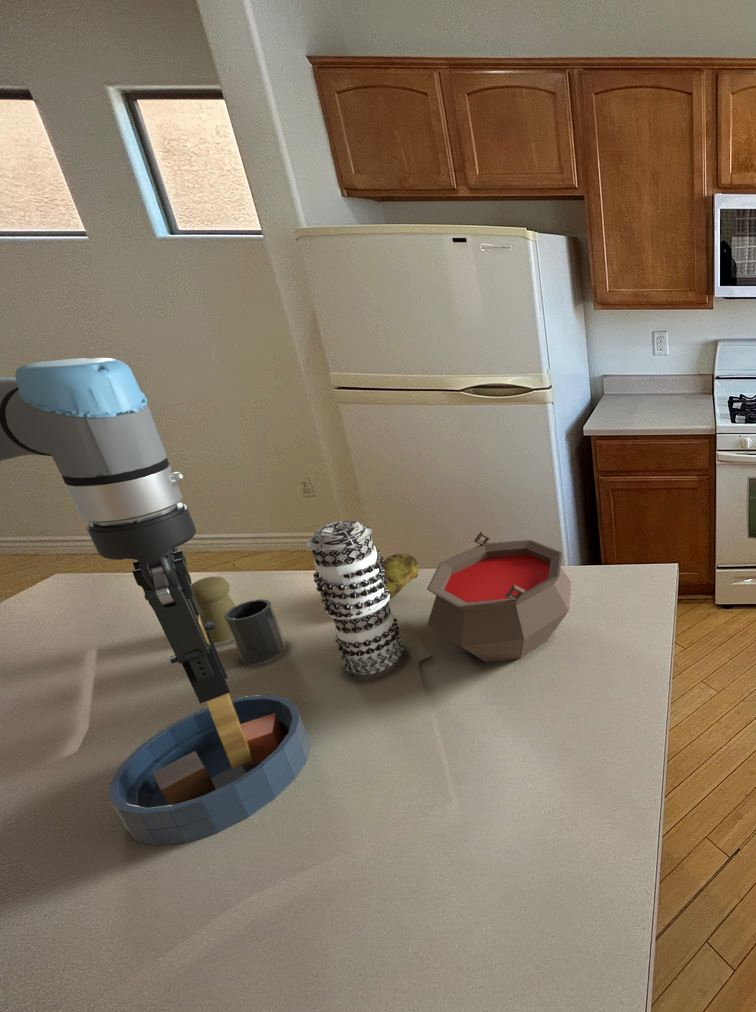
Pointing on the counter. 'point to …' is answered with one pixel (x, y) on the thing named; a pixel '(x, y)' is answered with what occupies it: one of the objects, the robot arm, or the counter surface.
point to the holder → (255, 631)
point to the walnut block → (184, 779)
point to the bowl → (234, 787)
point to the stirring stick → (228, 726)
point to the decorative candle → (356, 596)
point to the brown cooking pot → (500, 598)
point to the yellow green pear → (399, 571)
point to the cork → (214, 605)
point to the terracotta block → (262, 737)
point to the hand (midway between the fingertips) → (213, 688)
